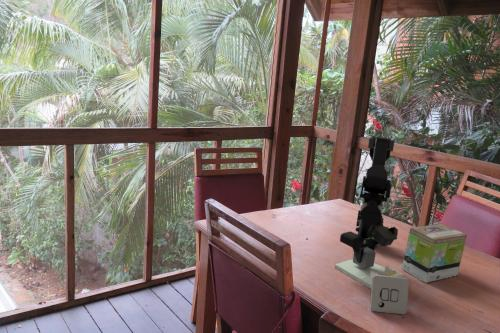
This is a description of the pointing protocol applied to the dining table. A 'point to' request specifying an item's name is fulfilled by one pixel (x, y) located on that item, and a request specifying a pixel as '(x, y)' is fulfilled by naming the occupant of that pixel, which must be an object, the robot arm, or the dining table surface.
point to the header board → (366, 272)
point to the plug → (366, 258)
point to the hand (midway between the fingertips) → (363, 261)
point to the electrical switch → (389, 294)
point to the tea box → (433, 252)
